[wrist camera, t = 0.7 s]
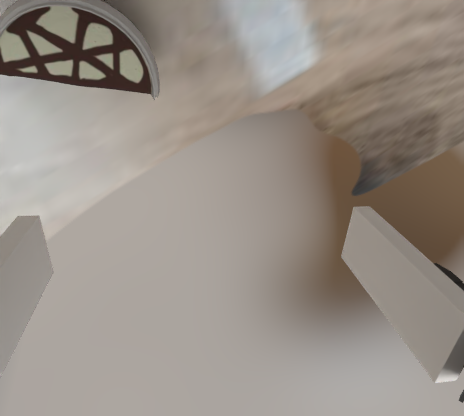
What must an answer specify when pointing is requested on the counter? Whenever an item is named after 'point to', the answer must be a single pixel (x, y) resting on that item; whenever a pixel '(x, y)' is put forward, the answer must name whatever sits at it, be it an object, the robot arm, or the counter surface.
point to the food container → (76, 46)
